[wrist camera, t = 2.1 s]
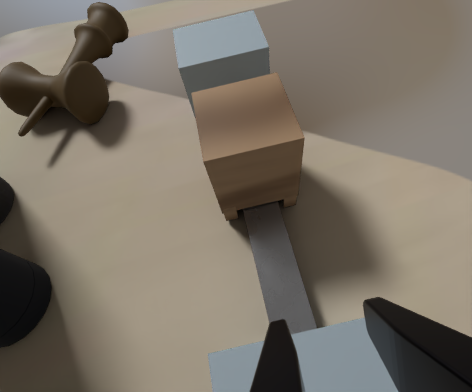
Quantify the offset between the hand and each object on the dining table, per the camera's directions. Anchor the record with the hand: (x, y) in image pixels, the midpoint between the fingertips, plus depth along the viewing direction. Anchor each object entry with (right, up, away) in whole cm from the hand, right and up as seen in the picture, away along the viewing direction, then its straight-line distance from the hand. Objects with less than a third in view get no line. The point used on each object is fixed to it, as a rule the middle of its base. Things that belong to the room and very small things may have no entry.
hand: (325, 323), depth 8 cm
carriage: (-1, +4, +18) cm, 19 cm away
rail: (-1, +3, +18) cm, 18 cm away
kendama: (-21, +16, +28) cm, 39 cm away
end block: (-3, +15, +25) cm, 29 cm away
